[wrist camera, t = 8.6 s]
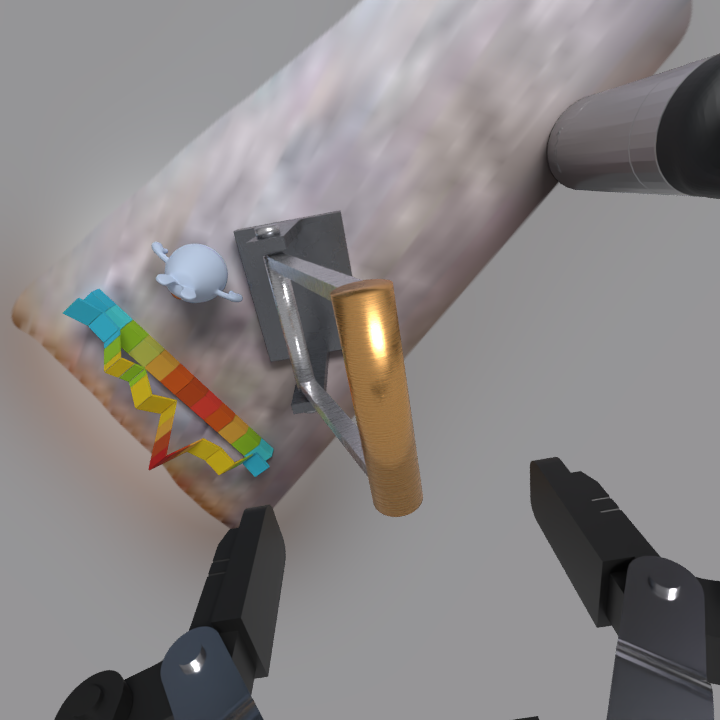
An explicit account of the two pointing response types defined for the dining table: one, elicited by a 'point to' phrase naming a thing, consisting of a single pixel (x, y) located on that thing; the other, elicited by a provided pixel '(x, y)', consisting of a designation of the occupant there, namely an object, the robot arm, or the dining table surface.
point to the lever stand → (297, 286)
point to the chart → (173, 375)
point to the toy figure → (194, 273)
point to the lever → (357, 375)
